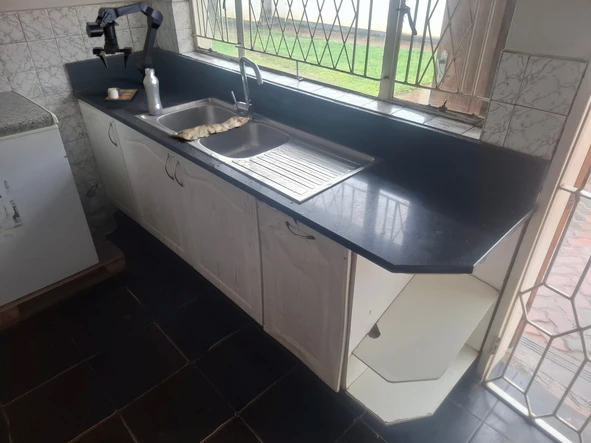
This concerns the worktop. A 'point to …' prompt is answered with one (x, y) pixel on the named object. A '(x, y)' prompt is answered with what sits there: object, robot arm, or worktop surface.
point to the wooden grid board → (124, 94)
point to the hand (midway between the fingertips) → (116, 68)
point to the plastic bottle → (152, 92)
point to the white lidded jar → (112, 93)
